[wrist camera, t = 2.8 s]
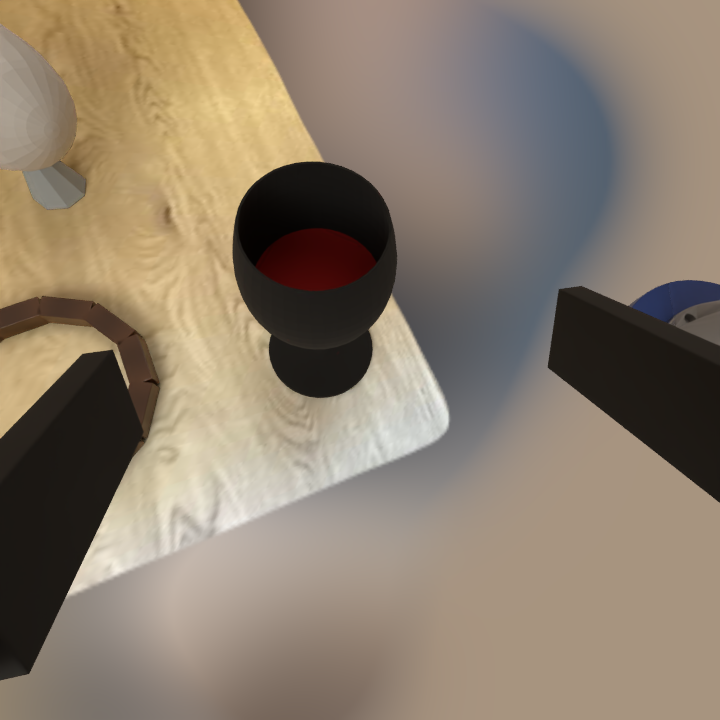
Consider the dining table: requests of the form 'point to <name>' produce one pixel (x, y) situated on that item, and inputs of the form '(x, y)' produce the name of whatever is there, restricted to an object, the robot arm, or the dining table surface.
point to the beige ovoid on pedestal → (36, 124)
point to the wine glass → (315, 271)
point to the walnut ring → (97, 316)
